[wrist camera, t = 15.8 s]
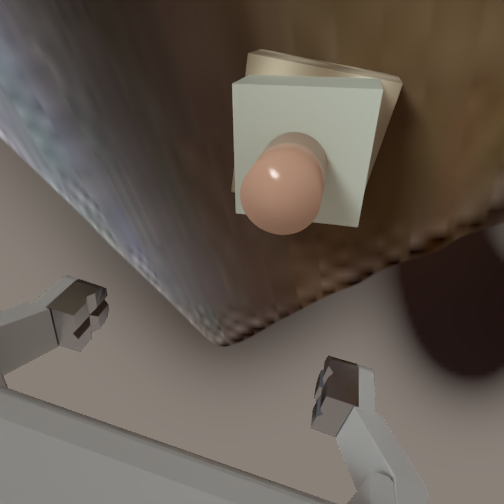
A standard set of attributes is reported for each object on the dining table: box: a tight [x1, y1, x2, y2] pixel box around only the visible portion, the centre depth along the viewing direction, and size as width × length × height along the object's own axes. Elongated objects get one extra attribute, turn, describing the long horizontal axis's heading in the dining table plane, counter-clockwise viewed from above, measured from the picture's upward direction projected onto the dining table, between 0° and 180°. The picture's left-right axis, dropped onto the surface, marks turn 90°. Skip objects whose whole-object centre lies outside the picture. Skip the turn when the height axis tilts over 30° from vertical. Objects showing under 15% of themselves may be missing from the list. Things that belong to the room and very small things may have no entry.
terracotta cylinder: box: [240, 132, 328, 235], centre depth 24 cm, size 5×5×6 cm
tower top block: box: [232, 75, 383, 227], centre depth 28 cm, size 10×10×5 cm
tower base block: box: [231, 49, 403, 193], centre depth 33 cm, size 12×12×5 cm
